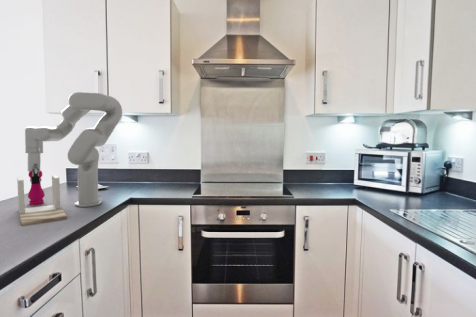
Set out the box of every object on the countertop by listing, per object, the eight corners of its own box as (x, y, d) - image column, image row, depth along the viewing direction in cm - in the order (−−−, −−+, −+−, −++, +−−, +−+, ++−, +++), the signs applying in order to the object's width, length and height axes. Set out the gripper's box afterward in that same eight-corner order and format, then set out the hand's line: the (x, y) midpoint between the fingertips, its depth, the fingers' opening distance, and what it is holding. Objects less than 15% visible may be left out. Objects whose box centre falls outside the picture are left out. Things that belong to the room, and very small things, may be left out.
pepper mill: (25, 205, 144) (24, 167, 143) (31, 202, 151) (30, 165, 150) (41, 204, 146) (40, 167, 145) (47, 201, 153) (45, 165, 152)
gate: (18, 210, 135) (17, 177, 134) (57, 205, 146) (56, 175, 144) (19, 214, 128) (18, 180, 127) (60, 209, 138) (59, 177, 137)
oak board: (19, 216, 126) (19, 213, 125) (61, 210, 136) (61, 208, 136) (21, 225, 113) (21, 222, 113) (67, 218, 124) (67, 215, 124)
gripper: (24, 149, 151) (24, 180, 152) (26, 151, 138) (27, 185, 139) (41, 149, 156) (41, 179, 157) (44, 151, 143) (45, 184, 144)
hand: (34, 182), depth 148 cm, fingers open, 9 cm apart
